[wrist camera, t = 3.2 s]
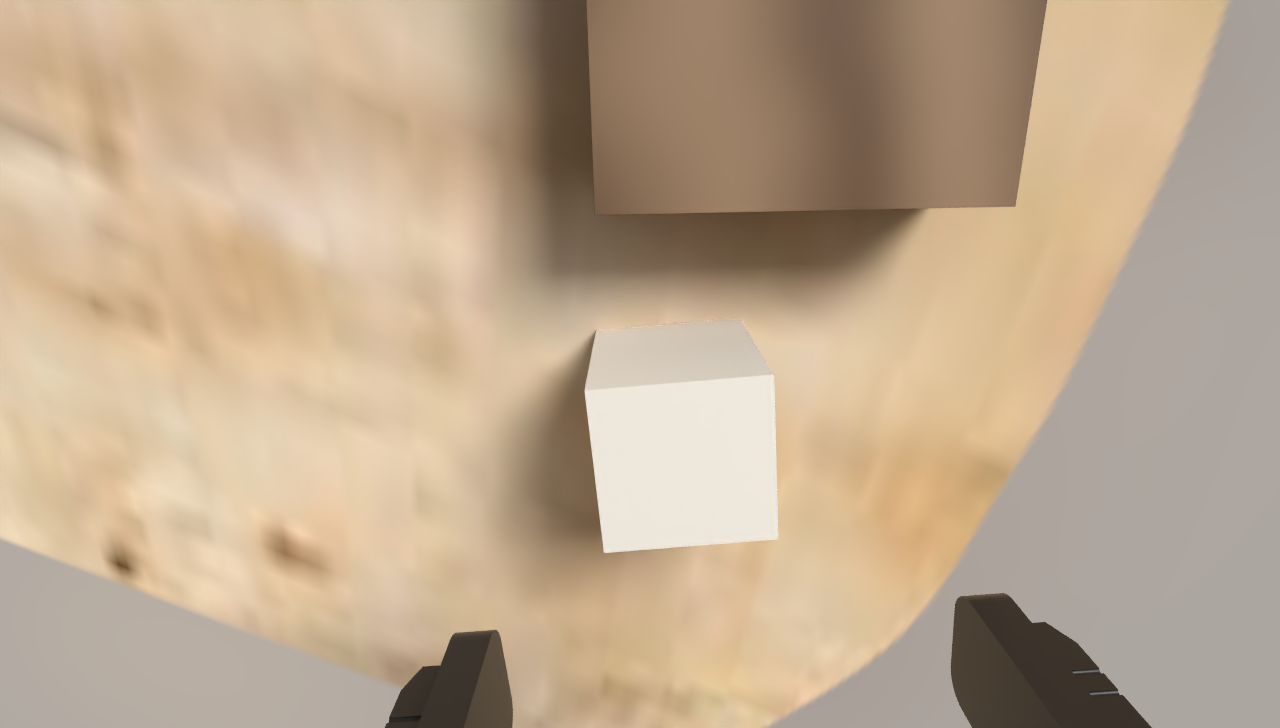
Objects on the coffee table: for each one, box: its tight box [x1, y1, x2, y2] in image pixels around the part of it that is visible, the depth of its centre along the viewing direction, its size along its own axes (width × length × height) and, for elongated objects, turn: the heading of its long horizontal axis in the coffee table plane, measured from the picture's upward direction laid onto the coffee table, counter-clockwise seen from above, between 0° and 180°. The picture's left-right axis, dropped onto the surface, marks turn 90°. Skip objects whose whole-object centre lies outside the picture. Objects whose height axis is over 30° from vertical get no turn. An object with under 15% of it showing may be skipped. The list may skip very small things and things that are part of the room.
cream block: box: [584, 318, 778, 553], centre depth 21 cm, size 5×5×6 cm
